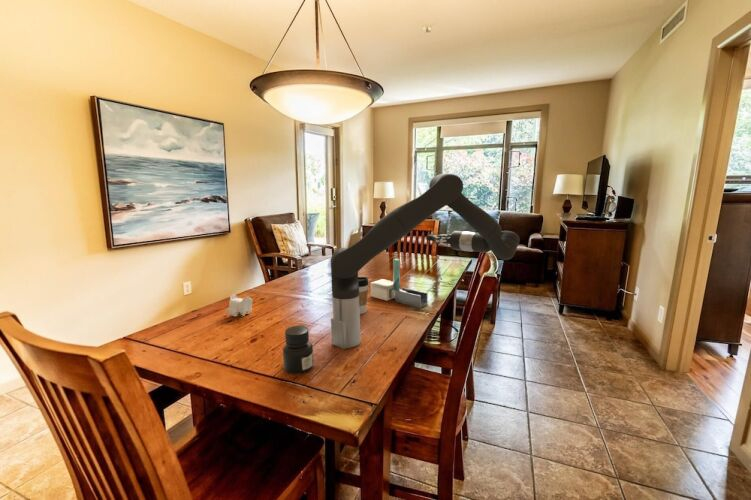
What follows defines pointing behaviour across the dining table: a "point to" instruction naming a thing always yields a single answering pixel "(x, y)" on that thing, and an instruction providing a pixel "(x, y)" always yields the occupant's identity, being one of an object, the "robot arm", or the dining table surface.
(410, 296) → the sleeve
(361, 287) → the coffee cup
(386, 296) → the socket
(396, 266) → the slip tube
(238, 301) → the elephant figurine
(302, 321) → the dining table surface
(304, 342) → the ink bottle
